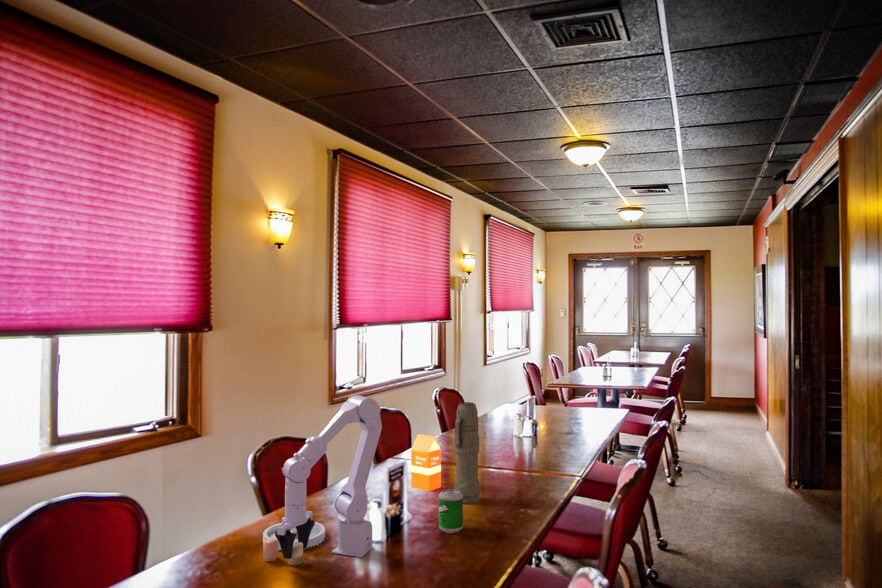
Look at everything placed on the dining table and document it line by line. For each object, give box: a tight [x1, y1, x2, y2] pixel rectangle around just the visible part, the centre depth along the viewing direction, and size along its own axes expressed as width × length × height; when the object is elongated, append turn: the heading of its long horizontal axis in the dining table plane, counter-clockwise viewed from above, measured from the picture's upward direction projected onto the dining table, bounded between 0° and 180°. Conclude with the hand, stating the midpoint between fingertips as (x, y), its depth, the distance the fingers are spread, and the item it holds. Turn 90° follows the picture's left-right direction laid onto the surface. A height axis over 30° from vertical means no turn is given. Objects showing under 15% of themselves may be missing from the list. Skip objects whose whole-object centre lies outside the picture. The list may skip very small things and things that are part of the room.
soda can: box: [438, 488, 464, 534], centre depth 198 cm, size 8×8×12 cm
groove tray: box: [262, 521, 326, 551], centre depth 190 cm, size 18×18×2 cm
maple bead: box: [287, 542, 304, 566], centre depth 173 cm, size 4×4×5 cm
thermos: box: [454, 401, 481, 505], centre depth 228 cm, size 9×12×35 cm
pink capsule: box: [262, 538, 279, 563], centre depth 176 cm, size 4×4×5 cm
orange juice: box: [410, 433, 442, 492], centre depth 245 cm, size 8×9×20 cm
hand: (295, 552), depth 173 cm, fingers open, 7 cm apart
